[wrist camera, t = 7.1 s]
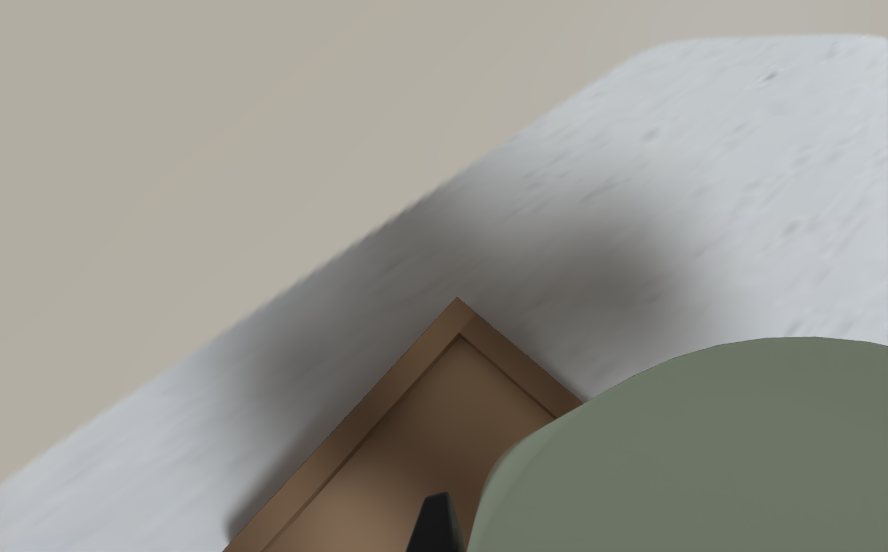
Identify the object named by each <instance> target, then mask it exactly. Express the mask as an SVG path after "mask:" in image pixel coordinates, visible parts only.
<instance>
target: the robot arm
mask: <svg viewBox="0 0 888 552" xmlns="http://www.w3.org/2000/svg"><path fill="white" fill-rule="evenodd" d="M405 552H465V548H464V543H463V538H462V533H461V529H460V525H459V522H458V518H457V515H456V512H455V509H454V506H453V502H452V499H451V496H450V494H449V493H448V492H440V493H437V494H433V495H429V496H427V497H426V498H425V499H424V501H423V503H422V506H421V509H420V511H419V514H418V517H417V520H416V523H415V526H414V528H413V531H412V534H411V537H410V540H409V543H408V545H407V548H406V551H405Z"/></svg>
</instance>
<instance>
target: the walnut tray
mask: <svg viewBox="0 0 888 552" xmlns="http://www.w3.org/2000/svg"><path fill="white" fill-rule="evenodd" d="M581 405H583V403H582V402H581V401H580V400H579V399H578V398H576V397H575V396H574V395H573V394H572V393H570V392H569V391H568V390H567V389H566V388H564V387H563V386H562V385H561V384H560V383H559V382H557V381H556V380H555V379H554V378H553V377H551V376H550V375H549V374H548V373H547V372H545V371H544V370H543V369H542V368H541V367H540V366H538V365H537V364H536V363H535V362H534V361H532V360H531V359H530V358H529V357H528V356H526V355H525V354H524V353H523V352H522V351H521V350H519V349H518V348H517V347H516V346H515V345H513V344H512V343H511V342H510V341H509V340H508V339H506V338H505V337H504V336H503V335H502V334H500V333H499V332H498V331H497V330H496V329H494V328H493V327H492V326H491V325H490V324H489V323H487V322H486V321H485V320H484V319H483V318H481V317H480V316H479V315H478V314H477V313H475V312H474V311H473V310H472V309H471V308H470V307H468V306H467V305H466V304H465V303H464V302H462V301H461V300H460V299H459V298H458V297H456V299H455V300H454V301H453V302H452V303H451V304H450V305H449V306H448V307H447V308H446V309H445V310H444V312H443V313H442V314H441V315H440V316H439V317H438V318H437V319H436V320H435V321H434V322H433V324H432V325H431V326H430V327H429V328H428V329H427V330H426V331H425V332H424V333H423V334H422V335H421V337H420V338H419V339H418V340H417V341H416V342H415V343H414V344H413V345H412V346H411V347H410V348H409V350H408V351H407V352H406V353H405V354H404V355H403V356H402V357H401V358H400V359H399V360H398V361H397V363H396V364H395V365H394V366H393V367H392V368H391V369H390V370H389V371H388V372H387V373H386V375H385V376H384V377H383V378H382V379H381V380H380V381H379V382H378V383H377V384H376V385H375V386H374V388H373V389H372V390H371V391H370V392H369V393H368V394H367V395H366V396H365V397H364V398H363V399H362V401H361V402H360V403H359V404H358V405H357V406H356V407H355V408H354V409H353V410H352V411H351V412H350V414H349V415H348V416H347V417H346V418H345V419H344V420H343V421H342V422H341V423H340V424H339V426H338V427H337V428H336V429H335V430H334V431H333V432H332V433H331V434H330V435H329V436H328V437H327V439H326V440H325V441H324V442H323V443H322V444H321V445H320V446H319V447H318V448H317V449H316V450H315V452H314V453H313V454H312V455H311V456H310V457H309V458H308V459H307V460H306V461H305V462H304V463H303V465H302V466H301V467H300V468H299V469H298V470H297V471H296V472H295V473H294V474H293V475H292V477H291V478H290V479H289V480H288V481H287V482H286V483H285V484H284V485H283V486H282V487H281V488H280V490H279V491H278V492H277V493H276V494H275V495H274V496H273V497H272V498H271V499H270V500H269V501H268V503H267V504H266V505H265V506H264V507H263V508H262V509H261V510H260V511H259V512H258V513H257V514H256V516H255V517H254V518H253V519H252V520H251V521H250V522H249V523H248V524H247V525H246V526H245V528H244V529H243V530H242V531H241V532H240V533H239V534H238V535H237V536H236V537H235V538H234V539H233V541H232V542H231V543H230V544H229V545H228V546H227V547H226V548H225V549H224V550H223V551H222V552H405V551H406V548H407V545H408V543H409V540H410V537H411V534H412V531H413V528H414V526H415V523H416V520H417V517H418V514H419V511H420V509H421V506H422V503H423V501H424V499H425V498H426V497H427V496H429V495H433V494H437V493H440V492H448V493H449V494H450V496H451V499H452V502H453V506H454V509H455V512H456V515H457V518H458V522H459V525H460V529H461V533H462V538H463V543H464V548H465V552H467V549H468V545H469V541H470V537H471V533H472V529H473V524H474V520H475V516H476V512H477V508H478V504H479V500H480V496H481V492H482V488H483V485H484V482H485V480H486V477H487V475H488V473H489V471H490V469H491V467H492V466H493V464H494V463H495V462H496V460H497V459H498V458H499V457H500V456H501V454H502V453H503V452H504V451H505V450H507V449H508V448H509V447H510V446H511V445H513V444H514V443H516V442H518V441H519V440H521V439H523V438H524V437H526V436H528V435H530V434H531V433H533V432H535V431H537V430H539V429H540V428H542V427H544V426H546V425H547V424H549V423H551V422H553V421H554V420H556V419H558V418H560V417H561V416H563V415H565V414H567V413H568V412H570V411H572V410H574V409H576V408H577V407H579V406H581Z"/></svg>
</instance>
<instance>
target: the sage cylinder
mask: <svg viewBox="0 0 888 552" xmlns="http://www.w3.org/2000/svg"><path fill="white" fill-rule="evenodd" d="M467 552H888V346H885V345H881V344H876V343H871V342H864V341H854V340H844V339H834V338H823V337H784V338H762V339H755V340H749V341H742V342H735V343H729V344H722V345H717V346H713V347H710V348H706V349H703V350H699V351H696V352H693V353H689V354H686V355H682V356H679V357H675V358H672V359H670V360H668V361H666V362H663V363H661V364H659V365H657V366H655V367H652V368H650V369H648V370H646V371H643V372H641V373H639V374H637V375H634V376H632V377H630V378H628V379H627V380H625V381H623V382H621V383H620V384H618V385H616V386H614V387H613V388H611V389H609V390H607V391H605V392H604V393H602V394H600V395H598V396H597V397H595V398H593V399H591V400H590V401H588V402H586V403H584V404H583V405H581V406H579V407H577V408H576V409H574V410H572V411H570V412H568V413H567V414H565V415H563V416H561V417H560V418H558V419H556V420H554V421H553V422H551V423H549V424H547V425H546V426H544V427H542V428H540V429H539V430H537V431H535V432H533V433H531V434H530V435H528V436H526V437H524V438H523V439H521V440H519V441H518V442H516V443H514V444H513V445H511V446H510V447H509V448H508V449H507V450H505V451H504V452H503V453H502V454H501V456H500V457H499V458H498V459H497V460H496V462H495V463H494V464H493V466H492V467H491V469H490V471H489V473H488V475H487V477H486V480H485V482H484V485H483V488H482V492H481V496H480V500H479V504H478V508H477V512H476V516H475V520H474V524H473V529H472V533H471V537H470V541H469V545H468V549H467Z"/></svg>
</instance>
